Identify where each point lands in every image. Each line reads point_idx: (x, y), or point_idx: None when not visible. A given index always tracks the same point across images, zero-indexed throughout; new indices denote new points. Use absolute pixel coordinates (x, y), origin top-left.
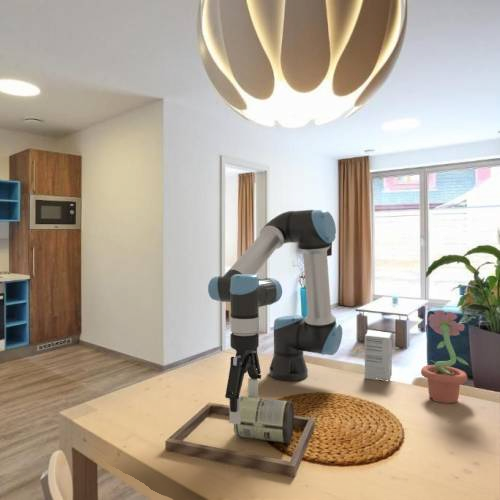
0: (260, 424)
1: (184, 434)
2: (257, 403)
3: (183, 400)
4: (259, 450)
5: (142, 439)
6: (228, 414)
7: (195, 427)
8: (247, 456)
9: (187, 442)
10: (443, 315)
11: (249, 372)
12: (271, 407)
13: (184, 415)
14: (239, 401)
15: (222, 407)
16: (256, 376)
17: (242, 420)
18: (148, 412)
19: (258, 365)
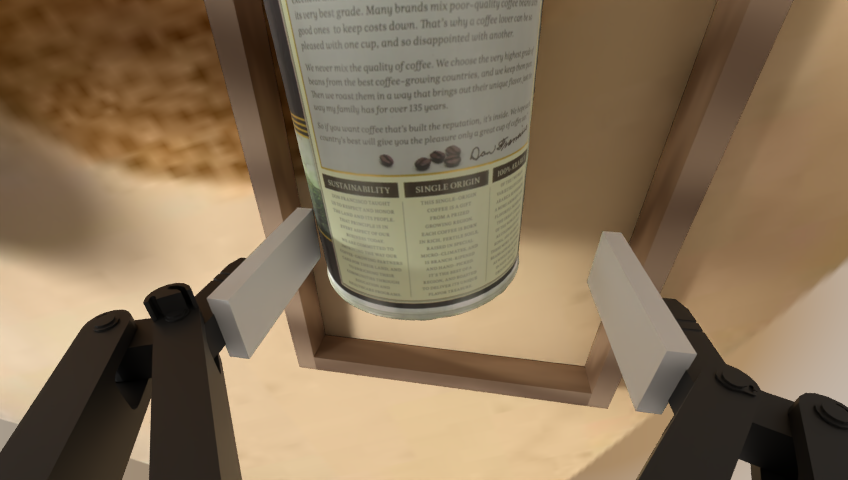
0: (530, 122)
1: (516, 369)
2: (441, 199)
3: (291, 412)
4: (547, 92)
5: (542, 435)
6: (313, 287)
7: (441, 351)
8: (734, 115)
9: (610, 357)
10: None
11: (227, 408)
12: (463, 74)
13: (375, 390)
14: (683, 334)
15: (307, 322)
16: (202, 328)
17: (519, 230)
18: (397, 456)
19: (69, 400)
